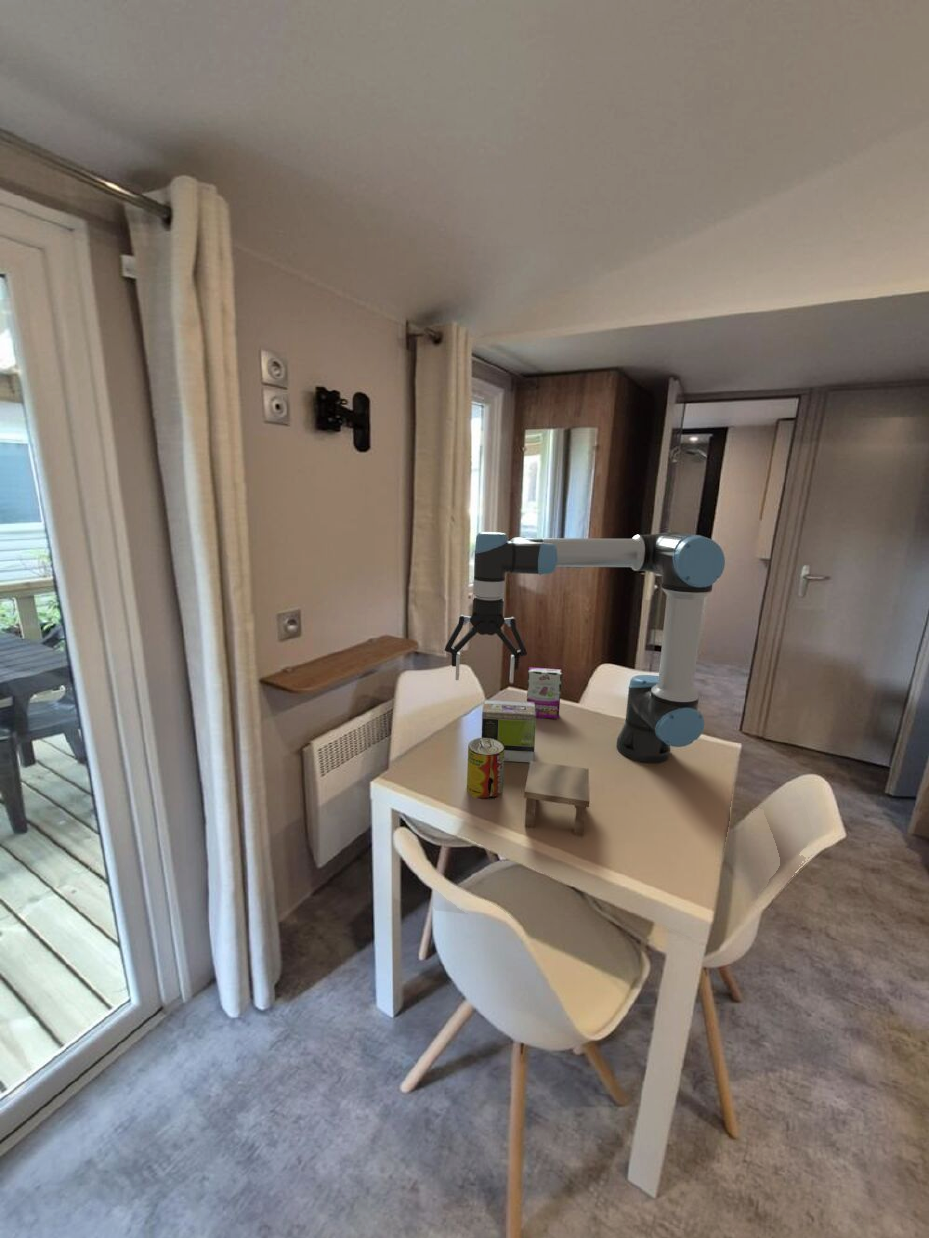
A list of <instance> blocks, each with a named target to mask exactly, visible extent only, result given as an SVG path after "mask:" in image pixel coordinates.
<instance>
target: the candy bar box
mask: <svg viewBox="0 0 929 1238" xmlns="http://www.w3.org/2000/svg"><path fill="white" fill-rule="evenodd" d="M527 673H528V674H527V693H526V702H535V713H536V719H537V718H538V719H549V720H550V719H551V720H559V717H560V706H561V705H560V704H561V691H562V678H563V677H562V676H563V673H562V669H557V668H545V667H544V668H543V667H533V666H532V667H529V668H528V672H527Z"/></svg>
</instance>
